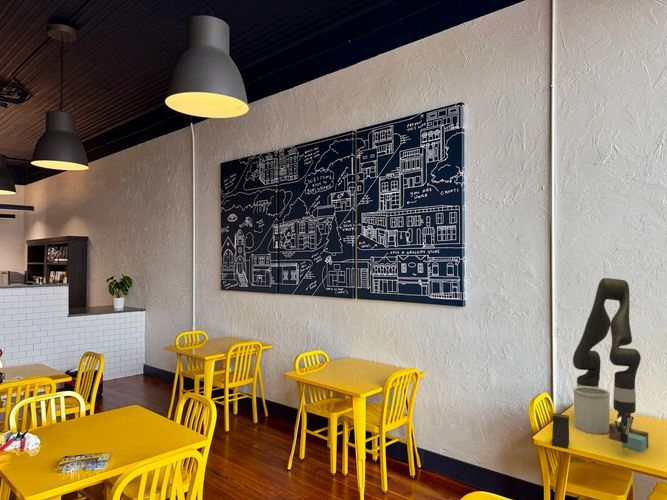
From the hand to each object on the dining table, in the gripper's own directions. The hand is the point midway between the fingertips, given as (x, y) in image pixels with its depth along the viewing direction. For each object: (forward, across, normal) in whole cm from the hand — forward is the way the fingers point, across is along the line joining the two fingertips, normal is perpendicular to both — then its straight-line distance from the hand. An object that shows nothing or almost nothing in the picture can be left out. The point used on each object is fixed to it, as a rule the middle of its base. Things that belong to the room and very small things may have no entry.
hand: (624, 442), depth 188 cm
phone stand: (+5, +10, -20) cm, 23 cm away
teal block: (+5, -10, 0) cm, 11 cm away
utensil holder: (+5, -19, -20) cm, 28 cm away
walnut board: (+4, -14, -3) cm, 15 cm away
